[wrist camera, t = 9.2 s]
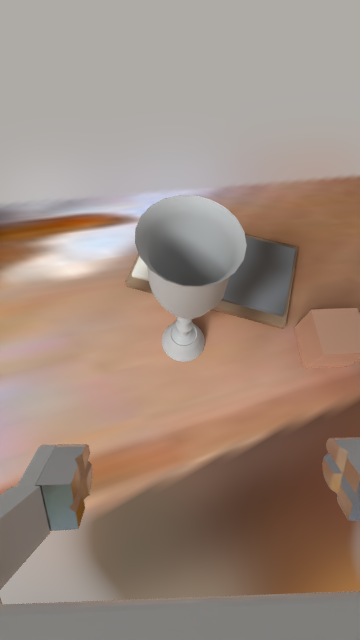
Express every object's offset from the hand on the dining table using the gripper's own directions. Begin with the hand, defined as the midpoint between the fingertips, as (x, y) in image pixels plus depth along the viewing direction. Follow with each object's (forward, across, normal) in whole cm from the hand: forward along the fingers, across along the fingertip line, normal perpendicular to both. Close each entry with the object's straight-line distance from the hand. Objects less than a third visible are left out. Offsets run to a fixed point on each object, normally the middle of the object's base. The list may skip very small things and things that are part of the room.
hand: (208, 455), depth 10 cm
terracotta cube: (+23, +16, -7) cm, 29 cm away
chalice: (+24, 0, -6) cm, 25 cm away
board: (+31, +4, +1) cm, 31 cm away
